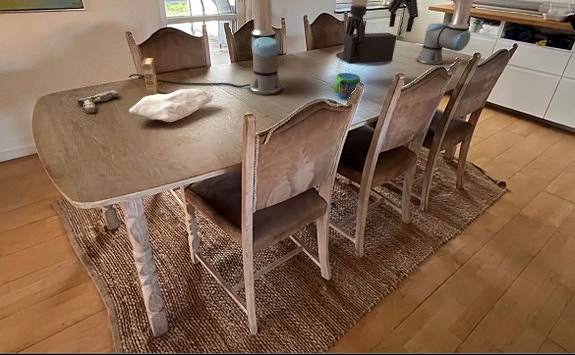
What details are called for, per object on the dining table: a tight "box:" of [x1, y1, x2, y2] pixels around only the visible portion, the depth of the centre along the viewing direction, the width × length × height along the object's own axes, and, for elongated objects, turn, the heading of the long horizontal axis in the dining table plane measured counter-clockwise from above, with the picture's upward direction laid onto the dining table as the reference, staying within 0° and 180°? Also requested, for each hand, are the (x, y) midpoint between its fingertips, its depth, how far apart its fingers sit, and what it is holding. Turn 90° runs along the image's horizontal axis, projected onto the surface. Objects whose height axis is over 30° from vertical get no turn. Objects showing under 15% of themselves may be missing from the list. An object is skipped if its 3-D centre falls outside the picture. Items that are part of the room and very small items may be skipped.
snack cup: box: [333, 72, 361, 100], centre depth 170 cm, size 16×10×10 cm
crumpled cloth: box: [129, 88, 214, 123], centre depth 147 cm, size 24×35×9 cm
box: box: [341, 32, 398, 65], centre depth 189 cm, size 26×8×13 cm, turn 110°
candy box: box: [141, 57, 160, 96], centre depth 163 cm, size 9×4×15 cm, turn 13°
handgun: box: [76, 89, 120, 114], centre depth 155 cm, size 3×18×15 cm
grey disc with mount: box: [335, 51, 390, 65], centre depth 234 cm, size 35×35×9 cm
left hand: (352, 54), depth 187 cm, fingers closed on box, 8 cm apart
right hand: (399, 29), depth 189 cm, fingers open, 13 cm apart
